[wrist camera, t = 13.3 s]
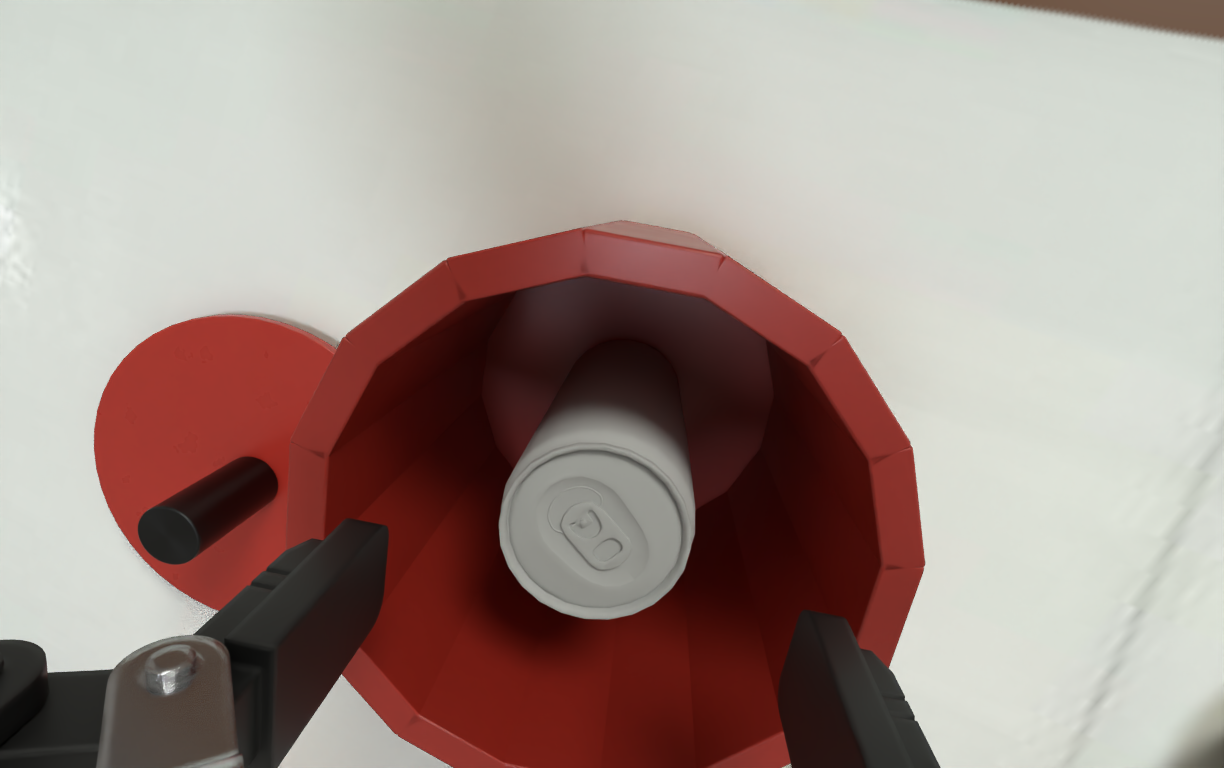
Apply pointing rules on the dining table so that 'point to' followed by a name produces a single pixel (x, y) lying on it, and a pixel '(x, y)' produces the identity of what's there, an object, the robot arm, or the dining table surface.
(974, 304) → the dining table surface
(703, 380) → the pot
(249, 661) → the robot arm
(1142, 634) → the dining table surface
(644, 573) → the beverage can
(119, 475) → the lid
